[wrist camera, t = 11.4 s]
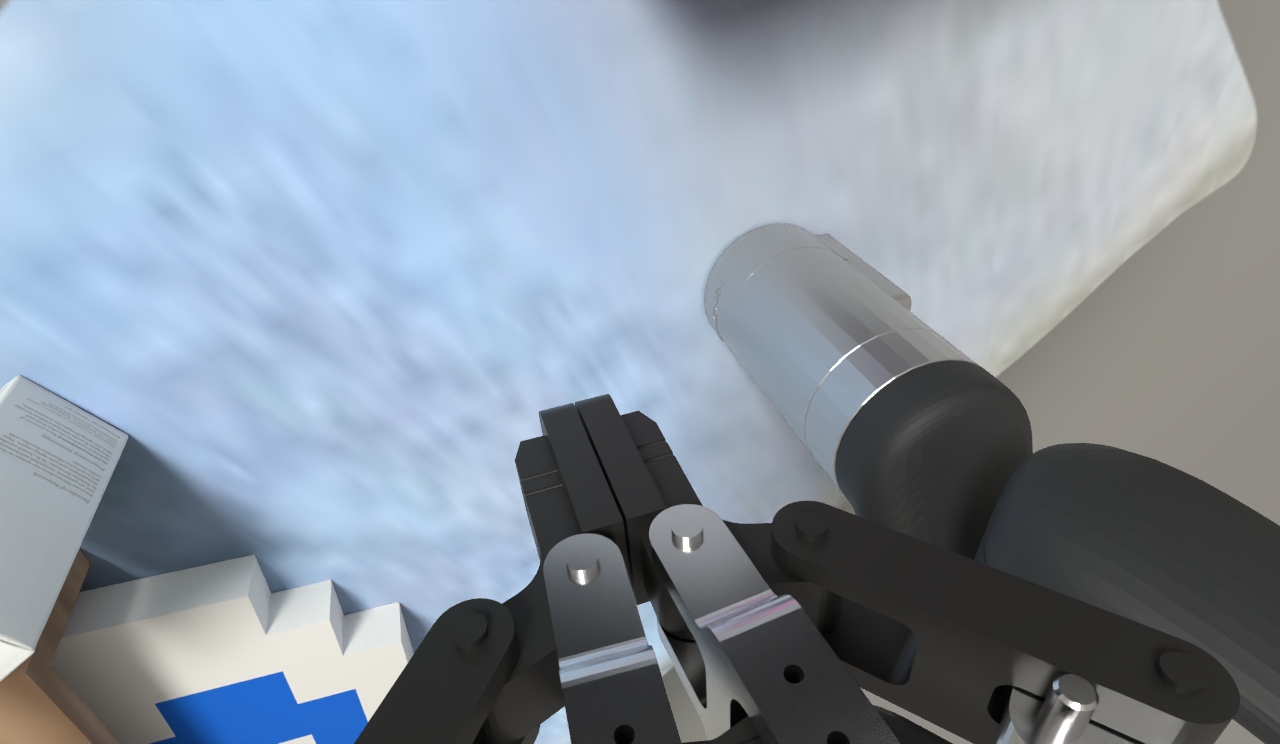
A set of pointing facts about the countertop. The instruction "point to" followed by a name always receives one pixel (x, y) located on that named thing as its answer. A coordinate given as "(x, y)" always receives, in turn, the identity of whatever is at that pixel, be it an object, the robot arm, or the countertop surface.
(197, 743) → the pixel art tile
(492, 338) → the countertop surface
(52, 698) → the walnut shelf
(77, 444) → the skincare box
